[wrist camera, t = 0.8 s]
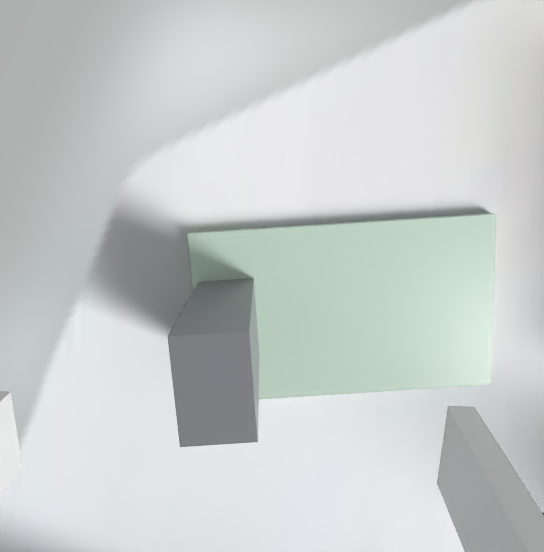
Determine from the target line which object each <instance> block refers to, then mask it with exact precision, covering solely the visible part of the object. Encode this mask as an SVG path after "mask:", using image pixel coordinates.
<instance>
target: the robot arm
mask: <svg viewBox="0 0 544 552" xmlns="http://www.w3.org/2000/svg"><path fill="white" fill-rule="evenodd" d="M22 468H23V467H22V461H21V455H20V449H19V442H18V436H17V430H16V424H15V417H14V411H13V405H12V399H11V392H1V391H0V497H1V496H2V495H3V493H4V492H5V491H6V489H7V488H8V487H9V485H10V484H11V483H12V481H13V480H14V479H15V477H16V476H17V475H18V473H19V472H20V471H21V469H22ZM437 484H438V487H439V489H440V492H441V494H442V496H443V499H444V501H445V504H446V506H447V509H448V511H449V514H450V516H451V519H452V521H453V524H454V526H455V528H456V531H457V533H458V536H459V538H460V541H461V543H462V546H463V548H464V551H465V552H544V513H542V512H541V510H540V509H539V507H538V506H537V504H536V503H535V501H534V500H533V498H532V496H531V495H530V493H529V492H528V490H527V489H526V487H525V485H524V484H523V482H522V481H521V479H520V478H519V476H518V475H517V473H516V471H515V470H514V468H513V467H512V465H511V464H510V462H509V460H508V459H507V457H506V456H505V454H504V453H503V451H502V450H501V448H500V446H499V445H498V443H497V442H496V440H495V439H494V437H493V436H492V434H491V432H490V431H489V429H488V428H487V426H486V425H485V423H484V421H483V420H482V418H481V417H480V415H479V414H478V412H477V411H476V409H475V407H461V406H448V410H447V417H446V424H445V431H444V438H443V445H442V452H441V459H440V466H439V473H438V480H437Z"/></svg>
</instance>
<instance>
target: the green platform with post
mask: <svg viewBox="0 0 544 552" xmlns="http://www.w3.org/2000/svg"><path fill="white" fill-rule="evenodd" d="M187 238H188V248H189V258H190V268H191V278H192V289H193V293H192V295H191V296H190V298H189V300H188V302H187V303H186V305H185V307H184V309H183V310H182V312H181V314H180V316H179V317H178V319H177V321H176V323H175V325H174V326H173V328H172V330H171V332H170V333H169V335H168V344H169V353H170V361H171V370H172V379H173V388H174V397H175V406H176V415H177V424H178V433H179V441H180V447H187V446H203V445H218V444H233V443H249V442H258V400H259V399H272V398H288V397H303V396H319V395H334V394H349V393H365V392H380V391H396V390H411V389H426V388H442V387H457V386H473V385H488V384H491V361H492V331H493V301H494V271H495V241H496V214H492V213H484V214H468V215H453V216H437V217H421V218H406V219H390V220H375V221H359V222H343V223H328V224H312V225H297V226H281V227H265V228H250V229H234V230H219V231H203V232H189V233H188V234H187Z"/></svg>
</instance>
